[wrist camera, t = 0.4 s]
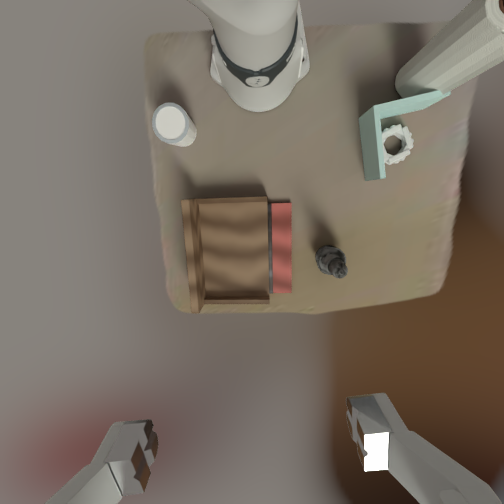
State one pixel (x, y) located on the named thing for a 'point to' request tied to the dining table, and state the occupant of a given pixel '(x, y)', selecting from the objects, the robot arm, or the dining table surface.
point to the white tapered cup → (173, 125)
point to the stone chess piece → (331, 261)
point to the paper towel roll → (456, 51)
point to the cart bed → (236, 250)
